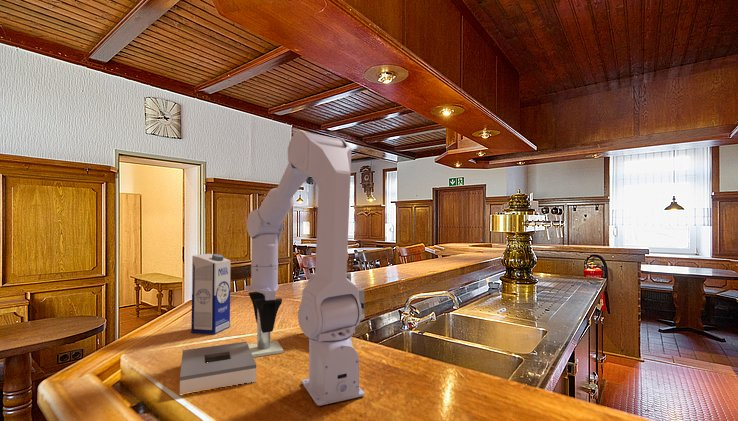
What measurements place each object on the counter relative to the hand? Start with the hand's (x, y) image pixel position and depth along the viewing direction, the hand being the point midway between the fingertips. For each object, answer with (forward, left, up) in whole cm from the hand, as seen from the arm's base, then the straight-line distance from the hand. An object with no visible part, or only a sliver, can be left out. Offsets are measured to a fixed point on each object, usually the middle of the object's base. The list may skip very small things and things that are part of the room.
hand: (264, 327), depth 81 cm
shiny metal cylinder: (0, 0, -4) cm, 4 cm away
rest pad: (0, 0, -5) cm, 5 cm away
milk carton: (+22, +10, -5) cm, 25 cm away
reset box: (-9, +10, -5) cm, 14 cm away
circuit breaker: (+4, -19, -5) cm, 20 cm away
